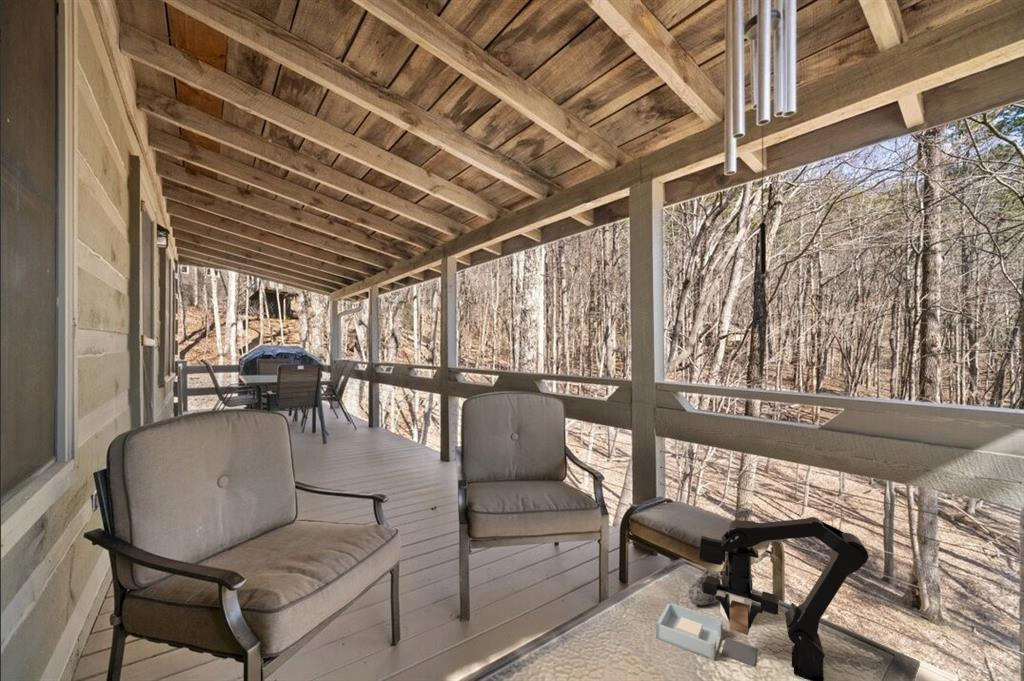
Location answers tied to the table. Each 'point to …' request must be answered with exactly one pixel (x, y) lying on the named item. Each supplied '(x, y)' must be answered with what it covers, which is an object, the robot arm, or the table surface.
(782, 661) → the table surface
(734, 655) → the rubber mat
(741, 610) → the walnut block
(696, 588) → the mineral rock
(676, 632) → the access box
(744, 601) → the jar
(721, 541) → the robot arm
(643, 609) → the table surface
